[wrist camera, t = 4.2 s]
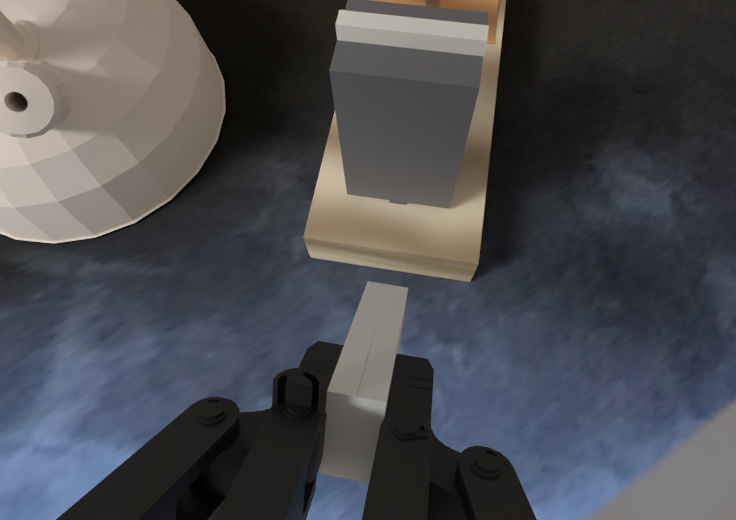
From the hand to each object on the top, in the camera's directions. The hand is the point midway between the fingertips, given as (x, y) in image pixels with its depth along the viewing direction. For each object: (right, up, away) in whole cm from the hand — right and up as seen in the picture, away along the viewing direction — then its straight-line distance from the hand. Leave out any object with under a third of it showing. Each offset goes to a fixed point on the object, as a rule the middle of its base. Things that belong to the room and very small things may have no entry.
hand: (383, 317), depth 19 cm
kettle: (-21, +12, +18) cm, 30 cm away
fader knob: (+2, +7, +11) cm, 13 cm away
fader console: (+3, +13, +17) cm, 22 cm away
